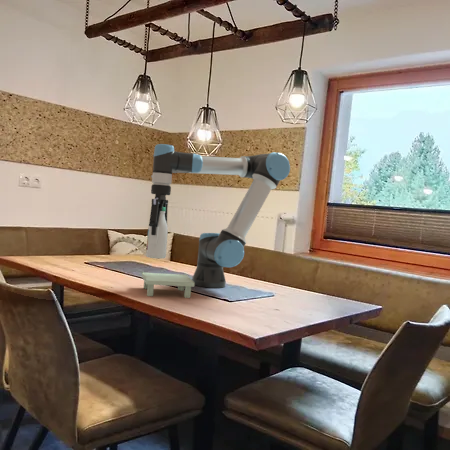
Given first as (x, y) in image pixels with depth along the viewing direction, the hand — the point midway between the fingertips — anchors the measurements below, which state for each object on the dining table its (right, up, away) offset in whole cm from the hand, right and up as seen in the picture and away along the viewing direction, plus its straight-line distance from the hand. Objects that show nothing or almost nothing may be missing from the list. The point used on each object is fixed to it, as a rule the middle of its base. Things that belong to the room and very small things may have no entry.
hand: (157, 242), depth 185 cm
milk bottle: (-1, -6, 0) cm, 6 cm away
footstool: (+4, -19, -1) cm, 20 cm away
